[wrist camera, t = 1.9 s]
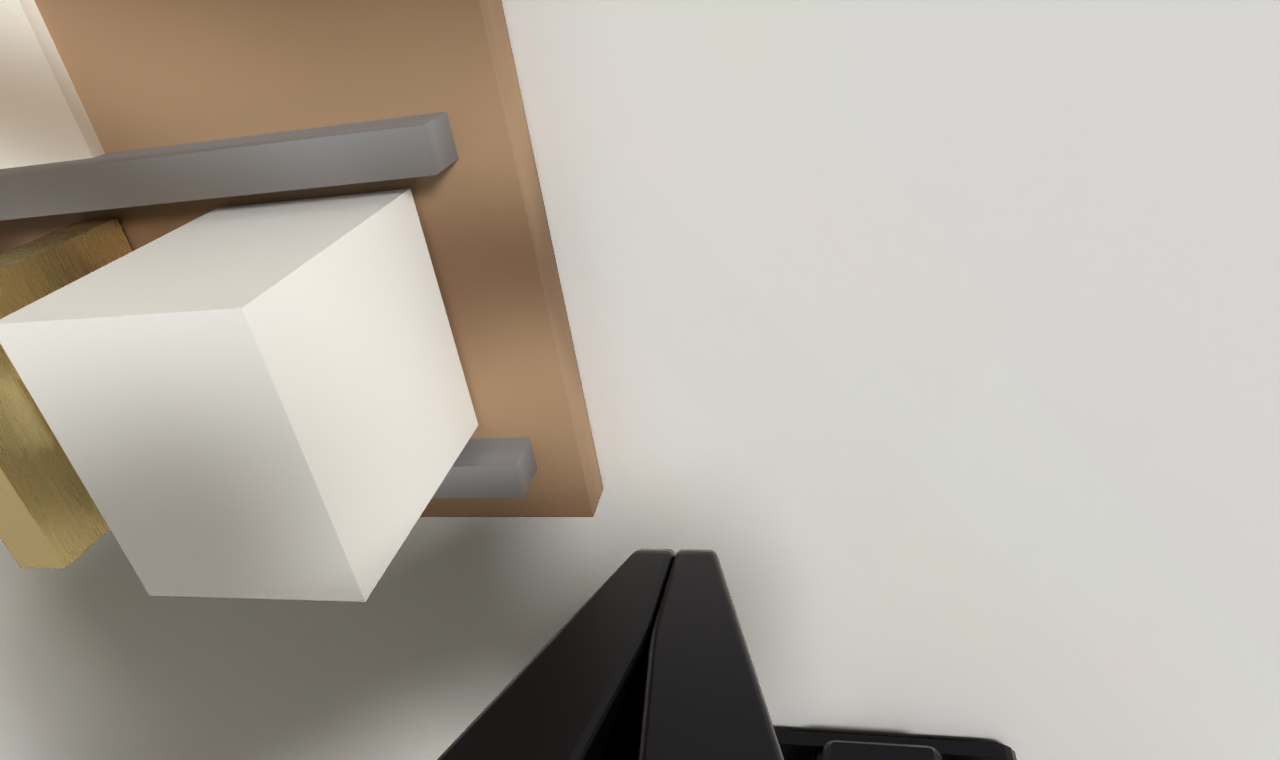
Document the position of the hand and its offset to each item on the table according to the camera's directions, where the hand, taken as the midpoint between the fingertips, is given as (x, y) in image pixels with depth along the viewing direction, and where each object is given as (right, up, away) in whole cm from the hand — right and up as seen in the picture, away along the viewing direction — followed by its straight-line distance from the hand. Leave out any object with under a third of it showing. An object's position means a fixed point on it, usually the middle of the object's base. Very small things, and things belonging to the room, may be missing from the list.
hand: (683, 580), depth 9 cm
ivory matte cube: (-7, +3, +8) cm, 11 cm away
